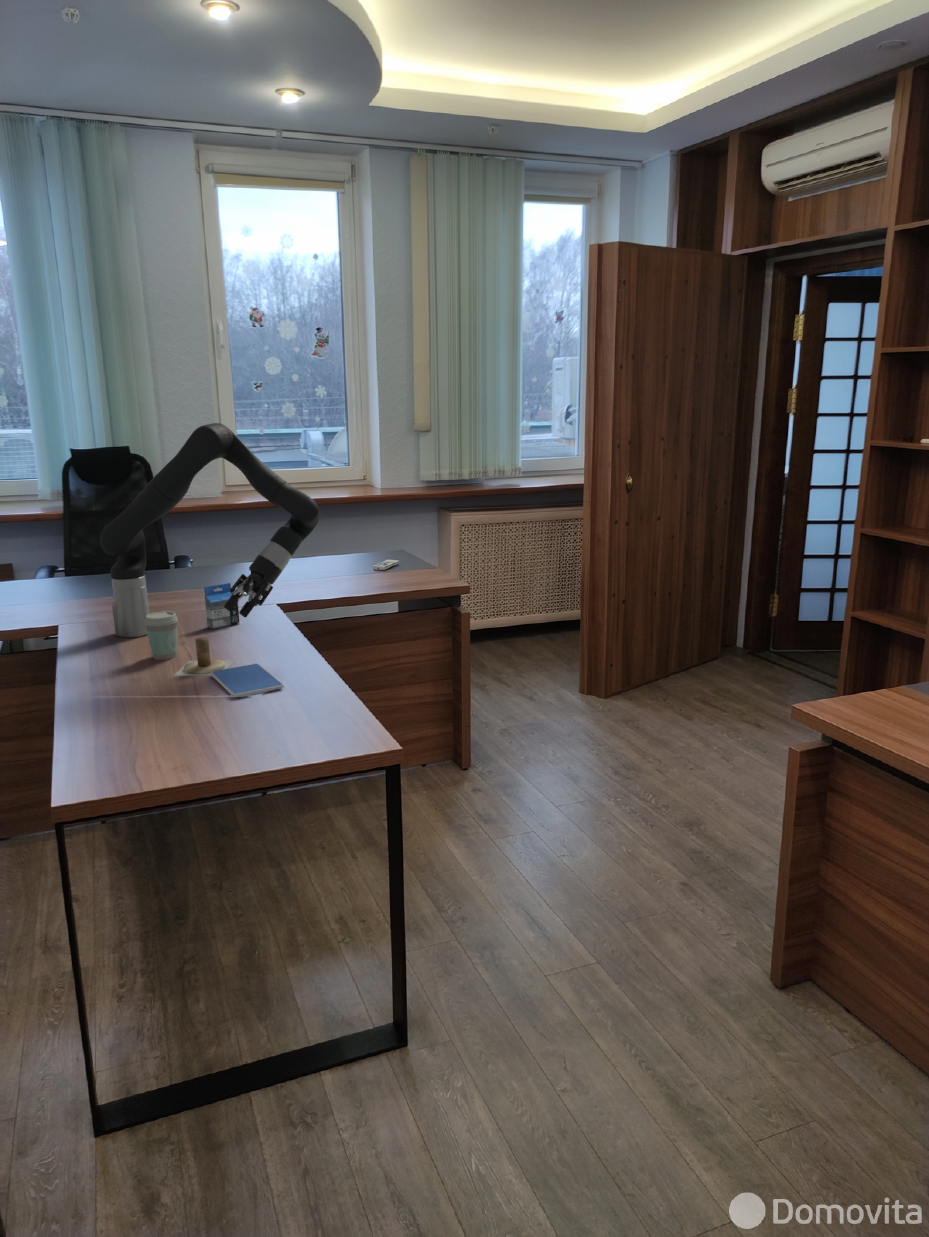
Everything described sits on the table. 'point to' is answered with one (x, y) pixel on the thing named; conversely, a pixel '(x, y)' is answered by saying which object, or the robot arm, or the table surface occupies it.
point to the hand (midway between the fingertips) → (234, 612)
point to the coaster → (183, 673)
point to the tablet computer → (246, 680)
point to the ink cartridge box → (219, 607)
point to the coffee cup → (162, 634)
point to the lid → (203, 659)
